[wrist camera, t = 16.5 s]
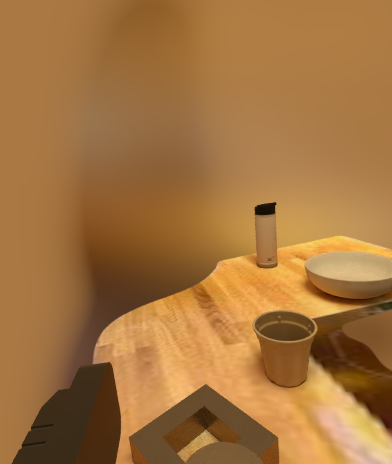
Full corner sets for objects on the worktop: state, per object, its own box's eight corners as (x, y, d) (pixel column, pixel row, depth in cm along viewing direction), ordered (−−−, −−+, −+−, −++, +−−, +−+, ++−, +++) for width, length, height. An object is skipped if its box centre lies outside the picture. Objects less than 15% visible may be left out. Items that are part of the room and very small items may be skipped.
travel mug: (275, 269, 93) (272, 204, 89) (254, 267, 96) (251, 204, 92) (280, 262, 98) (278, 201, 94) (261, 261, 102) (258, 201, 97)
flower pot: (245, 363, 52) (242, 317, 50) (294, 349, 54) (293, 305, 52) (274, 403, 43) (272, 348, 41) (331, 384, 45) (331, 332, 43)
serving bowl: (315, 270, 89) (314, 248, 88) (401, 280, 78) (402, 254, 76) (295, 300, 72) (294, 273, 71) (401, 318, 61) (403, 286, 59)
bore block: (207, 405, 43) (205, 384, 43) (279, 463, 34) (278, 437, 34) (133, 461, 36) (128, 437, 35) (198, 554, 27) (194, 524, 26)
